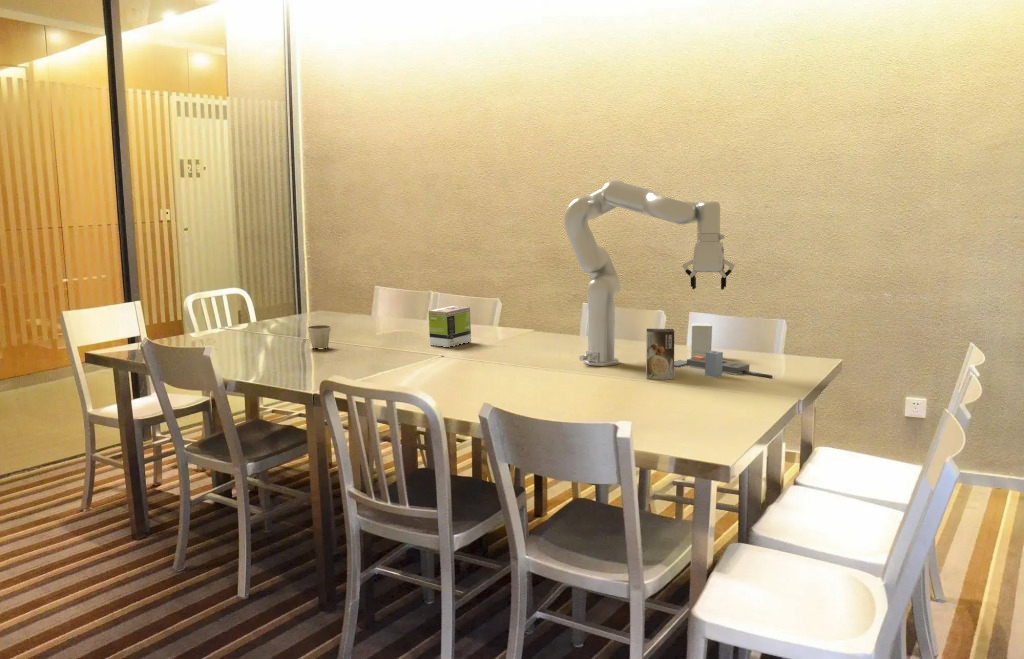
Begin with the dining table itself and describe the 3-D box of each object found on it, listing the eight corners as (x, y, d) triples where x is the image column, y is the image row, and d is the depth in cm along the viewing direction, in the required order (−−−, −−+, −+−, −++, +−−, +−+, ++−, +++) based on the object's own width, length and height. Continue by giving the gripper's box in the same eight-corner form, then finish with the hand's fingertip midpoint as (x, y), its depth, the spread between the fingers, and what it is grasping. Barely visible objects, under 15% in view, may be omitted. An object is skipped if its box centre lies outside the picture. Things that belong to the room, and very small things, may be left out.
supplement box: (711, 360, 308) (712, 326, 306) (690, 359, 309) (691, 325, 307) (710, 356, 315) (711, 322, 313) (690, 355, 317) (691, 322, 315)
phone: (677, 369, 296) (677, 366, 296) (663, 366, 300) (663, 363, 300) (694, 364, 303) (694, 361, 303) (680, 362, 307) (680, 359, 307)
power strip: (765, 380, 276) (766, 371, 275) (686, 366, 298) (686, 357, 297) (778, 376, 281) (778, 367, 281) (699, 362, 303) (699, 354, 303)
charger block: (715, 377, 280) (716, 353, 279) (705, 375, 283) (705, 351, 282) (722, 375, 283) (722, 351, 282) (711, 373, 286) (712, 350, 285)
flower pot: (337, 347, 337) (336, 326, 335) (320, 351, 329) (319, 329, 327) (320, 345, 342) (319, 324, 340) (303, 349, 334) (302, 327, 332)
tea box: (452, 340, 351) (452, 305, 349) (471, 342, 345) (471, 307, 343) (428, 345, 339) (427, 309, 337) (448, 348, 333) (447, 311, 331)
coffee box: (673, 375, 283) (674, 328, 281) (674, 380, 277) (675, 331, 274) (645, 375, 285) (646, 328, 282) (645, 379, 278) (646, 331, 276)
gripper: (736, 237, 285) (735, 288, 288) (685, 238, 292) (685, 287, 294) (733, 239, 278) (732, 290, 281) (680, 239, 285) (680, 289, 288)
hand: (708, 289), depth 288 cm, fingers open, 9 cm apart
